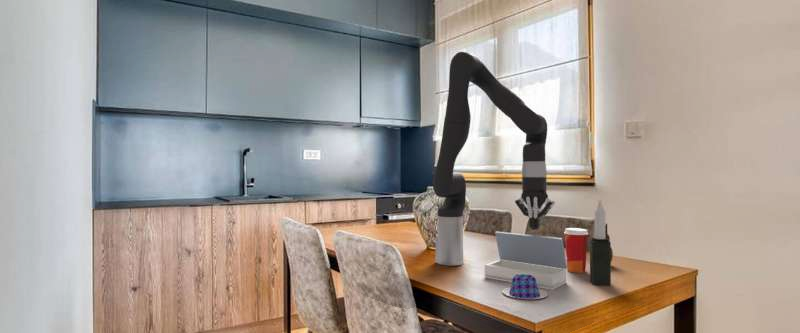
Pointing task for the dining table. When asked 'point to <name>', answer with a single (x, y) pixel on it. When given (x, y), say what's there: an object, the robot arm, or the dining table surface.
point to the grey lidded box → (542, 274)
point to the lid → (531, 249)
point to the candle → (600, 251)
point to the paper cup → (576, 249)
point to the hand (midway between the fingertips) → (534, 229)
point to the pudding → (524, 287)
